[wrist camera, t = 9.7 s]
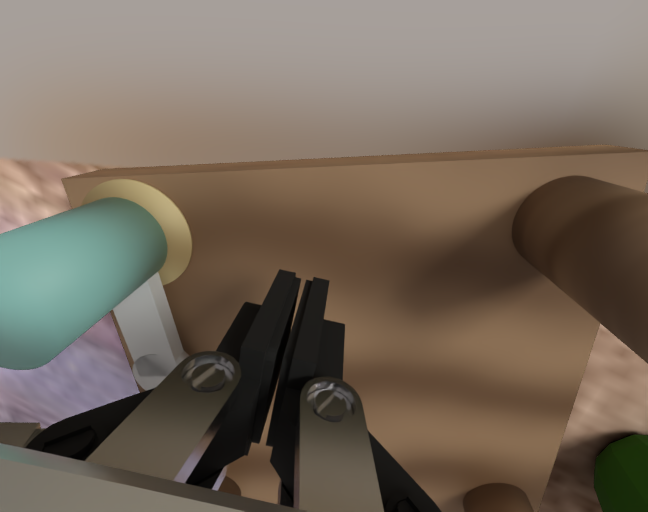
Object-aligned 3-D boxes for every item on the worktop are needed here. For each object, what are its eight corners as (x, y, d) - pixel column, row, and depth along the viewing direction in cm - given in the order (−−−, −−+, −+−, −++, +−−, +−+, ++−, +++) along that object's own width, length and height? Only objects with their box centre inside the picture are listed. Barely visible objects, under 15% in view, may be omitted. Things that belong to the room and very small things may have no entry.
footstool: (513, 487, 22) (600, 688, 14) (199, 474, 24) (128, 645, 17) (605, 144, 14) (948, 189, 6) (103, 169, 16) (-144, 226, 8)
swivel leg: (152, 193, 13) (22, 247, 8) (209, 383, 16) (147, 503, 11) (67, 200, 13) (-111, 256, 8) (142, 385, 17) (53, 501, 12)
